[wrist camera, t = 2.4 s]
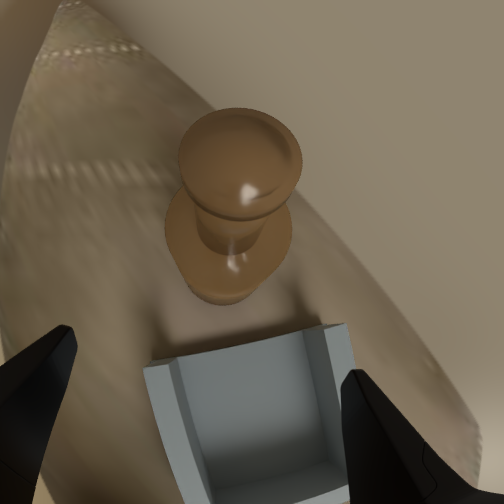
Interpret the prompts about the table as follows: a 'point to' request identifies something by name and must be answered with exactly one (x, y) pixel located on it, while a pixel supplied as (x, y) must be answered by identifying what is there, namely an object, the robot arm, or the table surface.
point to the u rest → (256, 419)
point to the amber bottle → (232, 203)
